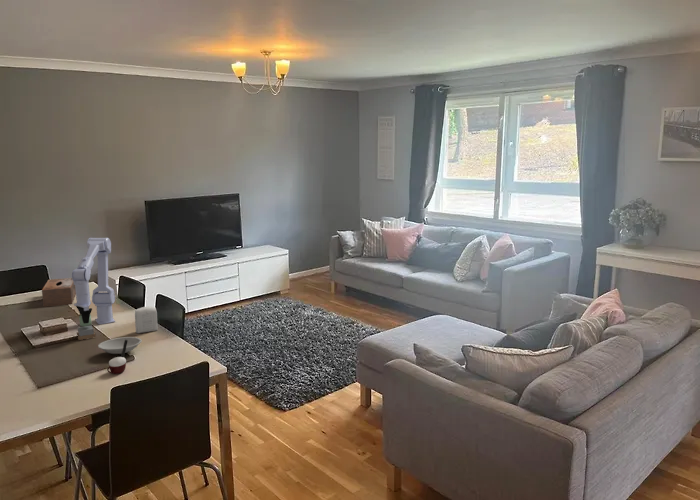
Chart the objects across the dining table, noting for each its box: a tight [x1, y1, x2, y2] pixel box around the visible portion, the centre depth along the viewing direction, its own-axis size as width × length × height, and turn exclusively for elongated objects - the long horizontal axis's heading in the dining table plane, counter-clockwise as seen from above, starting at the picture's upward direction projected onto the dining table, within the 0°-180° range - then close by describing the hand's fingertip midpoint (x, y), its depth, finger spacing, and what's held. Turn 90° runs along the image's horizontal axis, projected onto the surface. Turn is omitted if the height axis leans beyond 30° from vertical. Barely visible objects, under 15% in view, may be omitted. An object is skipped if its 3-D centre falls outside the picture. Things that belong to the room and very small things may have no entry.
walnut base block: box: [76, 331, 96, 341], centre depth 254 cm, size 7×7×2 cm
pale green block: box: [78, 314, 93, 327], centre depth 253 cm, size 5×5×4 cm
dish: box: [97, 336, 143, 355], centre depth 234 cm, size 18×14×5 cm
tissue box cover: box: [41, 277, 76, 308], centre depth 315 cm, size 26×14×10 cm, turn 22°
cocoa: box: [106, 340, 128, 375], centre depth 214 cm, size 10×6×12 cm, turn 126°
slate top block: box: [77, 325, 95, 336], centre depth 253 cm, size 6×6×2 cm
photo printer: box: [134, 306, 158, 334], centre depth 262 cm, size 10×4×12 cm, turn 123°
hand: (85, 321), depth 253 cm, fingers closed on pale green block, 5 cm apart
